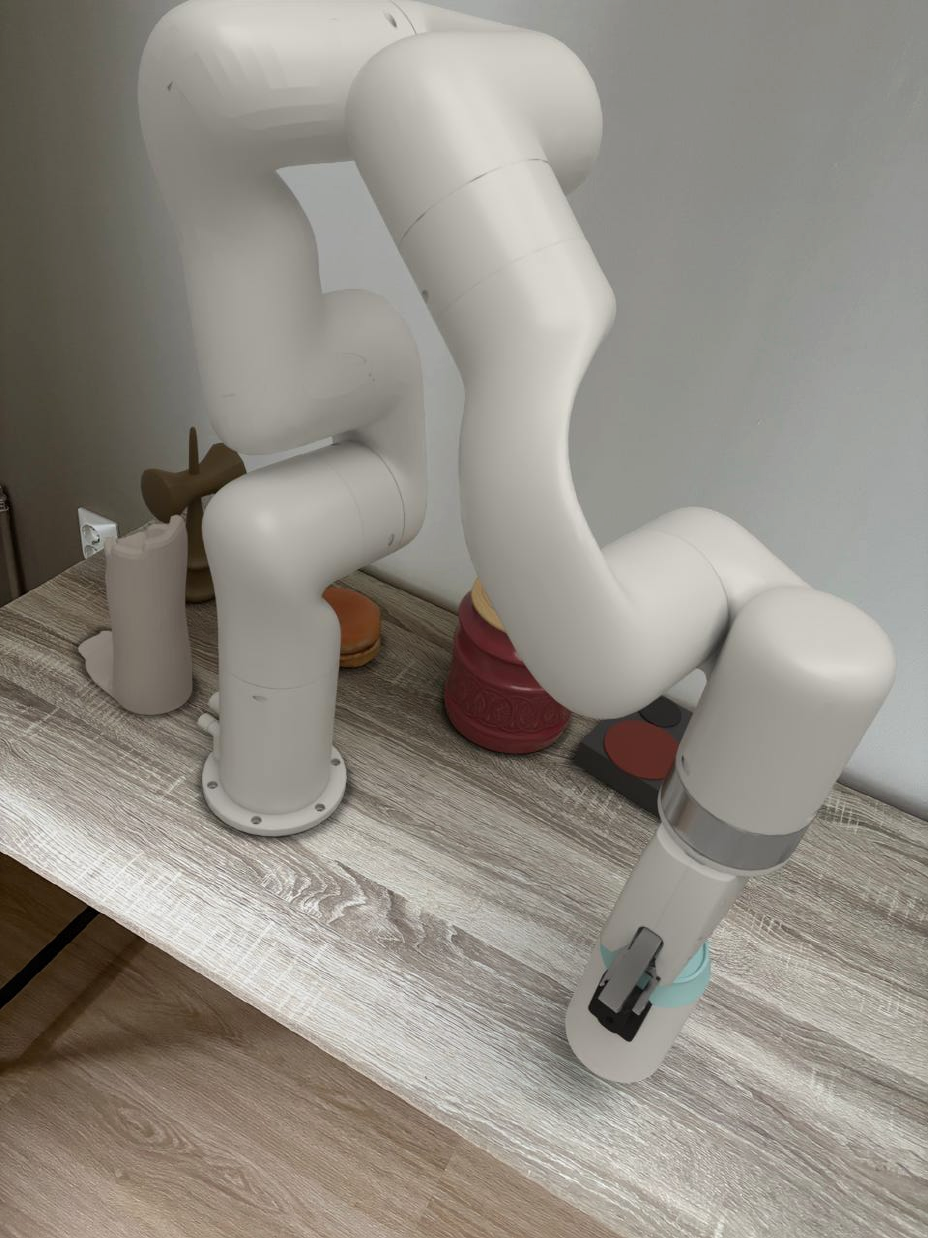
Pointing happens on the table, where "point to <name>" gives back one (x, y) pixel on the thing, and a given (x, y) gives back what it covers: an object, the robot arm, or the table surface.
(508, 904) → the table surface
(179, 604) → the candle
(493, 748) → the kitchen canister
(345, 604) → the burger
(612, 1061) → the can
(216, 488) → the kendama
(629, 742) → the burners
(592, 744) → the stove
